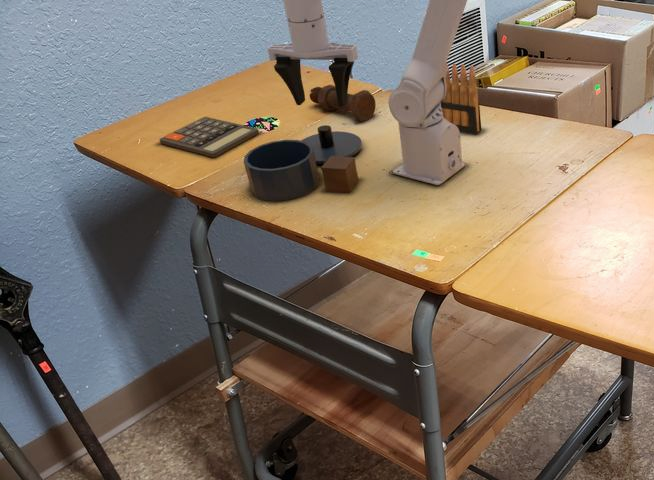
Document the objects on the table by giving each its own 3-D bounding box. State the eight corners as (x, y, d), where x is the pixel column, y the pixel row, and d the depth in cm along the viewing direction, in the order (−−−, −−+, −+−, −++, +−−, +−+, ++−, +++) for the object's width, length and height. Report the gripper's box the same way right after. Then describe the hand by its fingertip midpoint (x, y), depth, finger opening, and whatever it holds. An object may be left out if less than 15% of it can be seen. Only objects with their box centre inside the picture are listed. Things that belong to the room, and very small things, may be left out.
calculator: (204, 115, 141) (258, 128, 135) (205, 120, 142) (259, 132, 135) (158, 138, 134) (212, 152, 127) (159, 143, 135) (214, 157, 128)
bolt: (321, 111, 146) (372, 124, 138) (302, 106, 142) (353, 119, 134) (326, 82, 145) (378, 93, 137) (307, 76, 141) (360, 88, 133)
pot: (333, 177, 119) (327, 147, 116) (286, 207, 112) (278, 176, 109) (285, 164, 124) (278, 134, 121) (237, 191, 117) (229, 161, 114)
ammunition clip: (481, 130, 129) (479, 64, 122) (477, 134, 128) (474, 67, 121) (431, 122, 134) (426, 57, 126) (426, 126, 133) (420, 60, 125)
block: (358, 180, 117) (354, 157, 115) (349, 192, 114) (345, 169, 112) (335, 179, 118) (330, 155, 116) (325, 191, 115) (320, 167, 113)
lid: (376, 144, 128) (372, 121, 125) (331, 172, 121) (326, 148, 118) (325, 132, 134) (321, 109, 131) (280, 158, 126) (274, 134, 123)
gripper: (358, 9, 110) (371, 95, 119) (274, 9, 114) (292, 93, 123) (342, 23, 105) (356, 112, 114) (254, 23, 109) (274, 109, 117)
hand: (322, 103), depth 118 cm, fingers open, 7 cm apart
